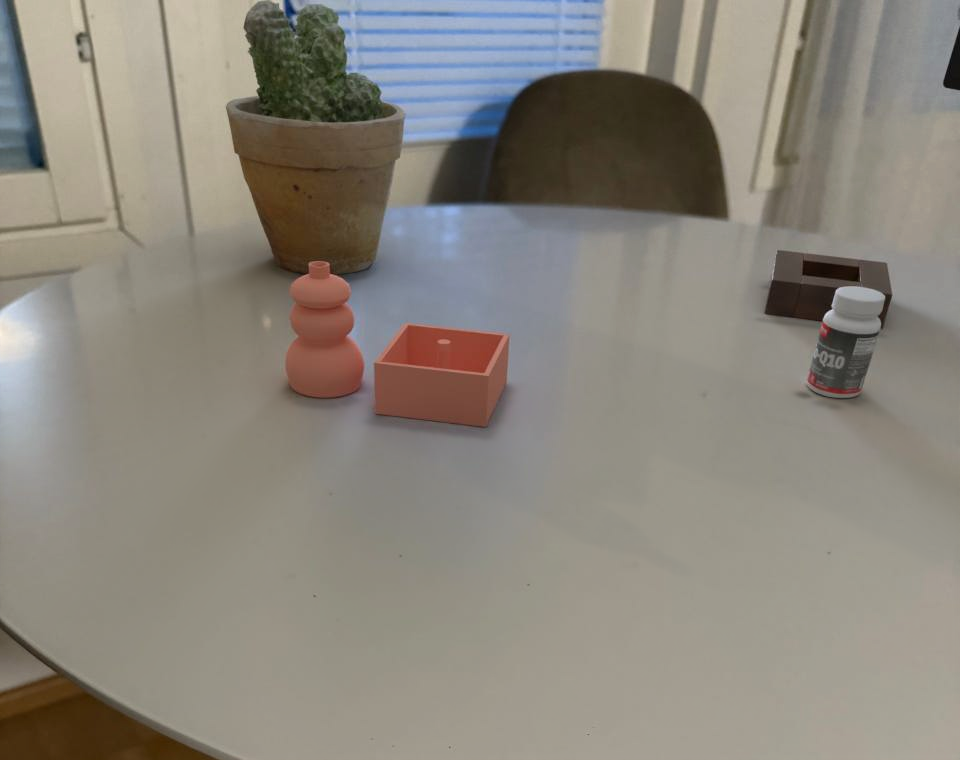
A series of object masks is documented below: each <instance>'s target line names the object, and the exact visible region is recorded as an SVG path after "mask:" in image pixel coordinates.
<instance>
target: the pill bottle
mask: <svg viewBox="0 0 960 760" xmlns="http://www.w3.org/2000/svg"><path fill="white" fill-rule="evenodd" d="M884 301H885V295H884V294H882V293H881V292H879V291H876V290H873V289H869V288H864V287H855V286H848V287H841V288H838V289H837V290H836V292H835V296H834V299H833V303H832V308H833V309H832V310H830V311H828V312H827V313H826V314H825V316H824V318H823V321H821V326H820V330H819V333H818V337H817V341H816V345H815V348H814V351H813V355H812V359H811V363H810V367H809V371H808V373H807V379H806V386H807V387H808V388H809V389H810V390H811V391H812V392H814V393H815V394H819V395H821V396H824V397H826V398H827V397H828V398H833V399H850V398H854V397H857V396H858V395H860V394H861V392H862V391H863V387H864V384H865V381H866V377H867V375H868V374H867V373H868V369H869V367H870V364H871V361H872V358H873V354H874V350H875V349H876V344H877V341H878V339H879V335H880V331H881V329H880V328H881V321H880V319H879V318H878V317H877V316H878V315H880V313H881V312H882V310H883V305H884Z"/></svg>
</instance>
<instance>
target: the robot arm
mask: <svg viewBox="0 0 960 760" xmlns="http://www.w3.org/2000/svg"><path fill="white" fill-rule="evenodd" d="M957 19H958V20H959V21H960V6H959V7H958V11H957ZM942 86H943V87H944V88H945V89H949V90H950V89H951V90H955V91H960V26H959V27H958V31H957V34H956V37H955V40H954V44H953V47H952V51H951V54H950V57H949V61H948V64H947V66H946V71H945V73H944V77H943V80H942Z"/></svg>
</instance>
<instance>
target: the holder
mask: <svg viewBox="0 0 960 760" xmlns="http://www.w3.org/2000/svg"><path fill="white" fill-rule="evenodd" d="M891 284H892V283H891V278H890V273H889V267H888V263H887V262H885V261H884V262H883V261H876V260H868V259H859V258H858V259H857V258H850V257H842V256H834V255H824V254H816V253H807V252H799V251H790V250H783V249H777V250H776V251H775V256H774V261H773V265H772V269H771V275H770V279H769V284H768V290H767V295H766V302H765V308H764V314H767V315H775V316H782V317H790V318H793V317H794V318H797V319H805V320H812V321H820V322H822V321H823V318H824V316H825V314H826V313H827V312H828V311H830V310H832V309H833V308H832V303H833V299H834V296H835V292H836V290H837V289H838V288H841V287H848V286H855V287H864V288H869V289H873V290H876V291H879V292H881V293H882V294H884V295H885V301H884V305H883V310H882V312H881V313H880V315H878V316H877V317H878V318H879V319H880V321H881V328H880V330H881V329H883V328H884V325H885V322H886V318H887V314H888V312H889V308H890V305H891V301H892V297H893V291H892V285H891Z"/></svg>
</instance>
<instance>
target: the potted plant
mask: <svg viewBox="0 0 960 760" xmlns="http://www.w3.org/2000/svg"><path fill="white" fill-rule="evenodd" d="M339 19H340V18H339V13H338V12H335V10H334V9H333V8H331V7H328V6H326V5H324V4H322V3H311V4H306V5H305V6H303V8H301V9H300V10H299V13H298V16H297V17H296V18H295V21H296V24H295V25H294V26H293V27H291V25H290V24H291V22H292V19H291V18H288V17H287V16H286V15H285V11H284V10H283V9H281V8H280V3H279V2H277V3H276V2H273V1H271V0H261V1H260V0H259V1H257V2H256V3H254V4H253V6H251V7H250V9H249V10H248V11H247V12H246V15H245V18H244V24H243V27H242V28H243V30H244V32H245V35H244V37H245V38H246V41H247V43H248V44H249V45H250V47H248V49H247V53H248V54H249V56H250V57H251V59H252V65H253V69H254V73H255V78H256V81H257V82H256V84H257V85H258V86H259V87H257V89H256V90H255V92H256V94H257V95H254V96H247V97H241V98H235V99H232V100H230V101H228V102H227V103H226V104H225V109H226V110H225V111H226V115H227V120H228V124H229V128H230V134H231V140H232V146H233V151H234V154H236V155H238V158H239V163H240V167H241V171H242V175H243V179H244V181H245V183H246V185H247V186H248V189H249V192H250V194H251V198H252V201H253V204H254V207H255V210H256V213H257V217H258V218H259V221H260V224H261V227H262V229H263V232H264V234H265V237H266V238H267V241H268V244H269V247H270V250H271V254H272V257H273V258H274V260H275V262H276V264H277V266H278V267H280V268H282V269H284V270H286V271H290V272H293V273H297V274H303V275H307V274H309V265H308V264H309V263H310V262H314V261H324V262H328V263H329V268H330V274H332V275H336V276H338V275H343V274H351V273H356V272H360V271H364V270H366V269H368V268H369V267H370V266H372V264H373V263H374V261H375V260H376V259H377V254H378V249H379V244H380V240H381V234H382V229H383V224H384V219H385V216H386V212H387V207H388V204H389V201H390V200H389V199H390V195H391V191H392V185H393V179H394V173H395V169H396V168H395V167H396V161H397V160H398V159H400V158H401V154H402V148H403V141H404V129H405V119H406V116H407V111H406V110H405V109H404V108H401V107H400V106H399V105H398V104H394V103H392V102H389V101H385V100H381V95H382V91H381V89H380V87H379V85H378V84H377V83H375V82H374V81H372V80H371V79H369V78H368V77H367V76H366V75H364V74H360V73H359V72H349V73H348V72H347V70H346V68H347V64H348V63H347V62H348V53H347V49H346V45H345V40H346V37H347V35H346V32H345V31H344V29H343V28H342V26H340V25H339V24H338V23H339ZM294 30H295V31H294ZM295 36H297V37H295Z"/></svg>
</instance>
